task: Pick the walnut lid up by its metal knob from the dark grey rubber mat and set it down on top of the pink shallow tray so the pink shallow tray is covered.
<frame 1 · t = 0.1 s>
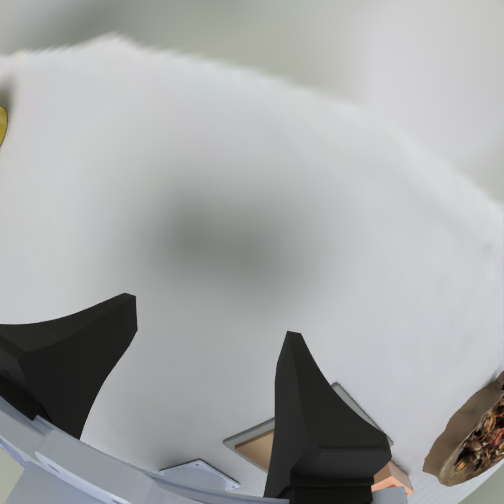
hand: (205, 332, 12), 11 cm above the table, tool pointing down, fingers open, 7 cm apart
pink shallow tray: (365, 482, 27), on the table
lid: (314, 450, 25), resting on mat
mat: (313, 447, 26), on the table
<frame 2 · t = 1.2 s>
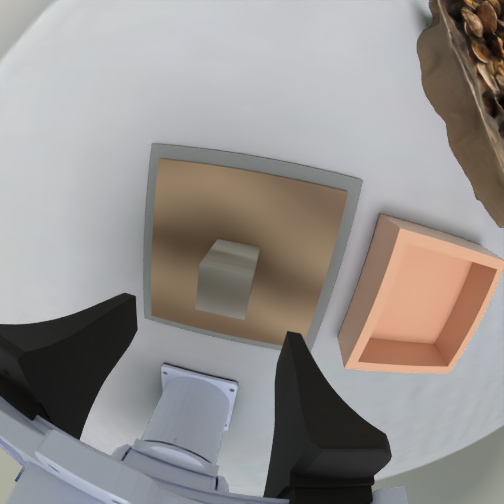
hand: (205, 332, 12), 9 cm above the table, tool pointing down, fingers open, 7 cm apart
pink shallow tray: (415, 291, 20), on the table
lid: (236, 259, 20), resting on mat
mat: (237, 257, 21), on the table
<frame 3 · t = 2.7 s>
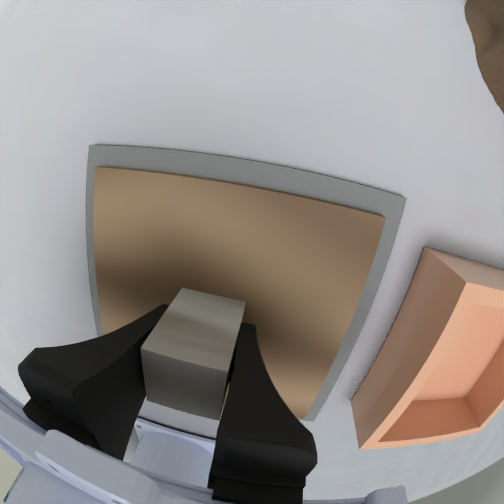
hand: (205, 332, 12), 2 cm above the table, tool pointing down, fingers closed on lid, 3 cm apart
pink shallow tray: (453, 344, 13), on the table
lid: (213, 314, 14), resting on mat, touching gripper
mat: (215, 309, 14), on the table
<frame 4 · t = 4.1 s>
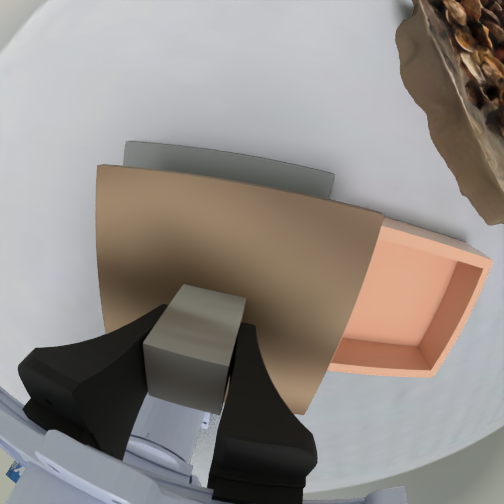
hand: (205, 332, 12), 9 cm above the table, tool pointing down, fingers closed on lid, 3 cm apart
pink shallow tray: (395, 291, 20), on the table
lid: (214, 310, 14), point 7 cm above the table, touching gripper
mat: (208, 253, 21), on the table
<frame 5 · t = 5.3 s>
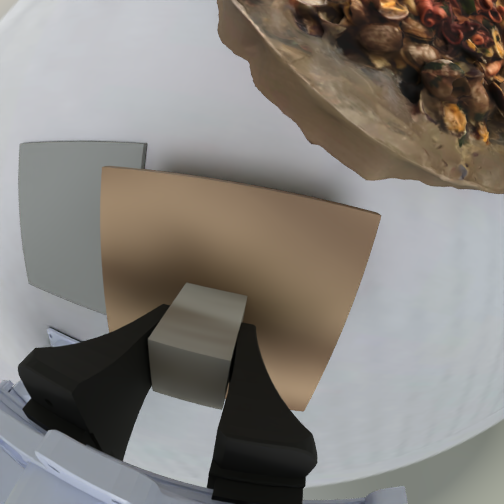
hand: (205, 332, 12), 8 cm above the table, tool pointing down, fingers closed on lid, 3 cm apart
lid: (215, 308, 14), point 6 cm above the table, touching gripper
mat: (69, 227, 20), on the table
when the fingers open (7 cm above the table, at t = 5.9 s): lid stays where it is, resting on pink shallow tray.
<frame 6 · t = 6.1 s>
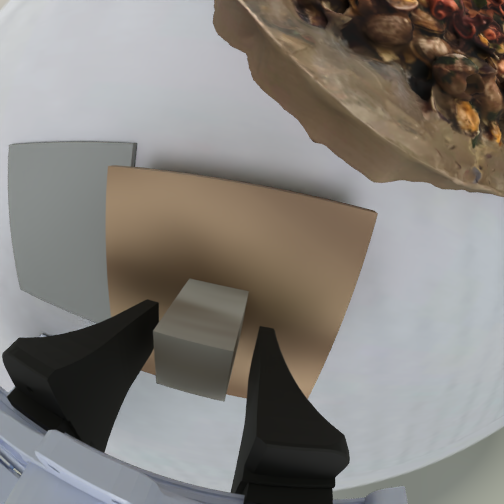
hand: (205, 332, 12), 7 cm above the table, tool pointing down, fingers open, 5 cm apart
lid: (217, 304, 15), point 4 cm above the table, touching pink shallow tray
mat: (58, 232, 19), on the table
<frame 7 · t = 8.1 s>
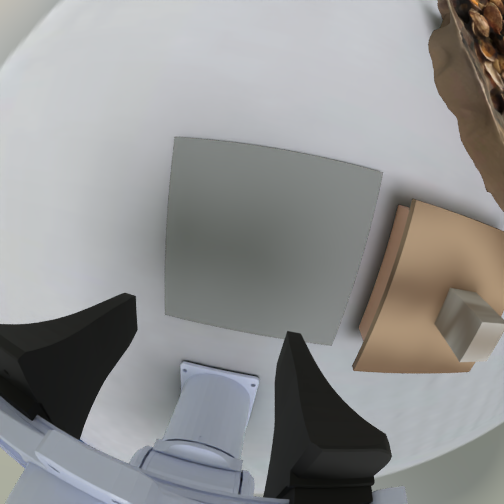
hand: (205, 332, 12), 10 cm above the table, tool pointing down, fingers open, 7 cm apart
pink shallow tray: (431, 280, 20), on the table
lid: (452, 304, 17), point 4 cm above the table, touching pink shallow tray
mat: (262, 249, 21), on the table
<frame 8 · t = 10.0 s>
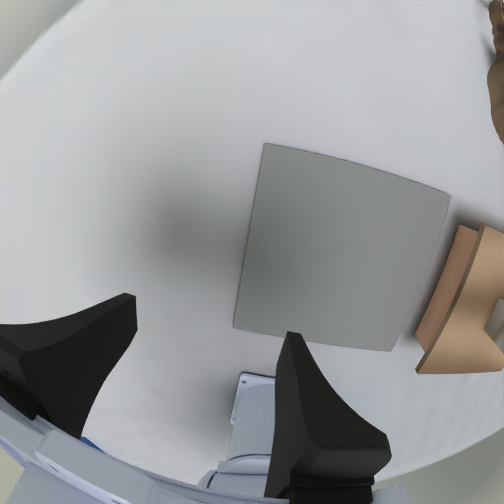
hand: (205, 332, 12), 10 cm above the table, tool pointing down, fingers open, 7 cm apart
pink shallow tray: (476, 291, 20), on the table
lid: (496, 312, 16), point 4 cm above the table, touching pink shallow tray
mat: (343, 263, 21), on the table
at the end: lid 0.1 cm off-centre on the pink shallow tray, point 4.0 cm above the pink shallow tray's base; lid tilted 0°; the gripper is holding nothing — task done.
